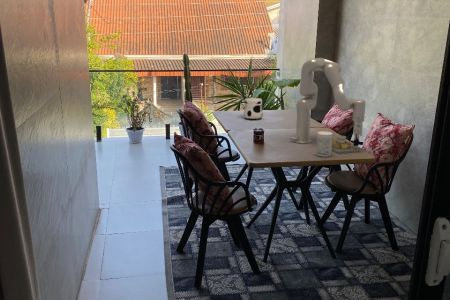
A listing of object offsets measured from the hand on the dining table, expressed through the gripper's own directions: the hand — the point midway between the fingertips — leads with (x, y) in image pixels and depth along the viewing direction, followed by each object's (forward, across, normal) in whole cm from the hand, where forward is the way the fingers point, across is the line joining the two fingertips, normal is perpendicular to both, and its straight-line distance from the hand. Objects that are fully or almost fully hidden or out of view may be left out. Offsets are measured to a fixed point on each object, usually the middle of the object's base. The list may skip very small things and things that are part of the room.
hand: (356, 145), depth 294 cm
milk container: (+3, +93, +82) cm, 124 cm away
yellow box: (+1, +1, +8) cm, 8 cm away
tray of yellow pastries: (+3, 0, +10) cm, 10 cm away
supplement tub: (+3, -17, +22) cm, 27 cm away
